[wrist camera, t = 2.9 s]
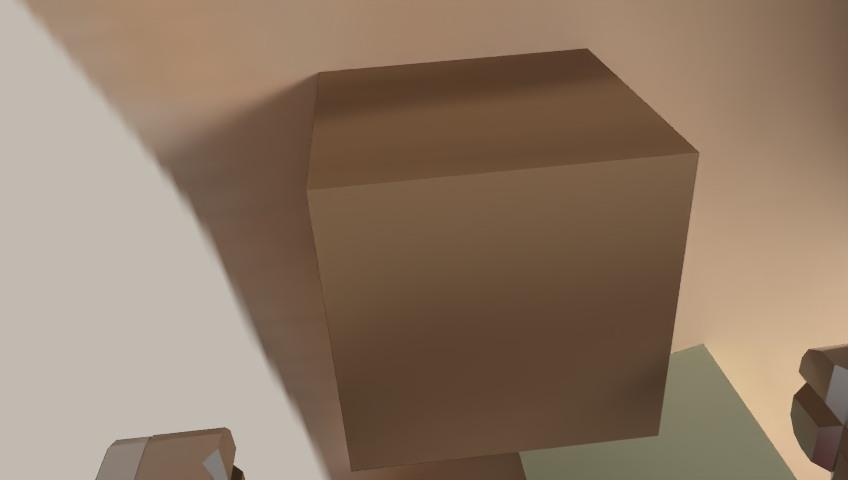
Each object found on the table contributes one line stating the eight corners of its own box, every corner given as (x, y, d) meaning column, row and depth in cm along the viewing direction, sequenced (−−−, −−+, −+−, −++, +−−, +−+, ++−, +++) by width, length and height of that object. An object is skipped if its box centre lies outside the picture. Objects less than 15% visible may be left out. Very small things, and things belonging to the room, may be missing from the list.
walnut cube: (319, 71, 13) (305, 190, 9) (585, 47, 13) (698, 152, 9) (350, 294, 16) (351, 470, 11) (573, 270, 16) (658, 435, 12)
